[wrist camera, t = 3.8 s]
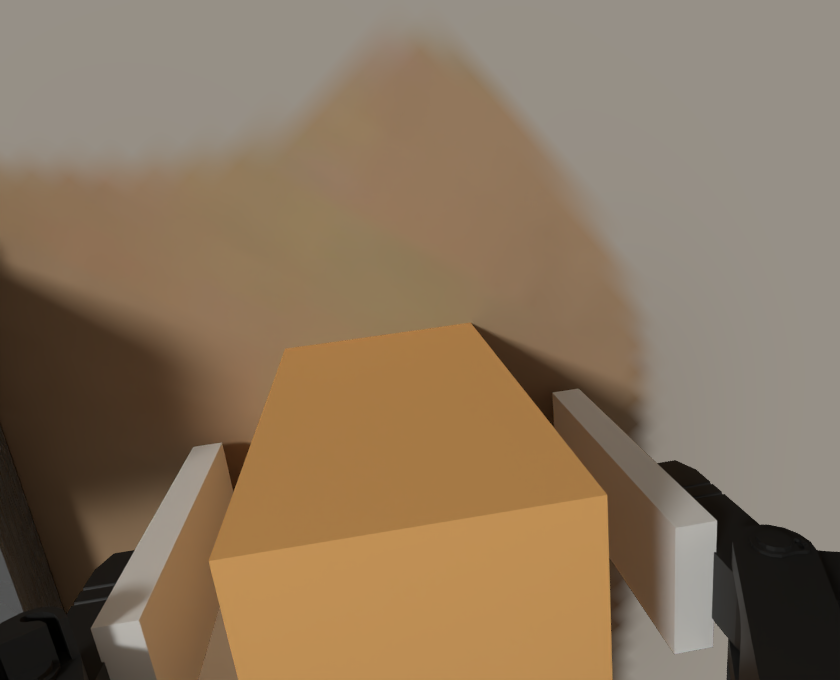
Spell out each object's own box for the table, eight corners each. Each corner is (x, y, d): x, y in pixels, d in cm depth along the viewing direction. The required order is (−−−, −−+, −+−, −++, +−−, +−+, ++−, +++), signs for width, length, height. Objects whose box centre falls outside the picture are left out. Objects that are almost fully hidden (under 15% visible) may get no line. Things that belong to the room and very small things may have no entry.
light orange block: (491, 543, 18) (618, 877, 10) (327, 571, 18) (305, 946, 9) (470, 322, 16) (607, 494, 8) (285, 348, 16) (207, 561, 7)
